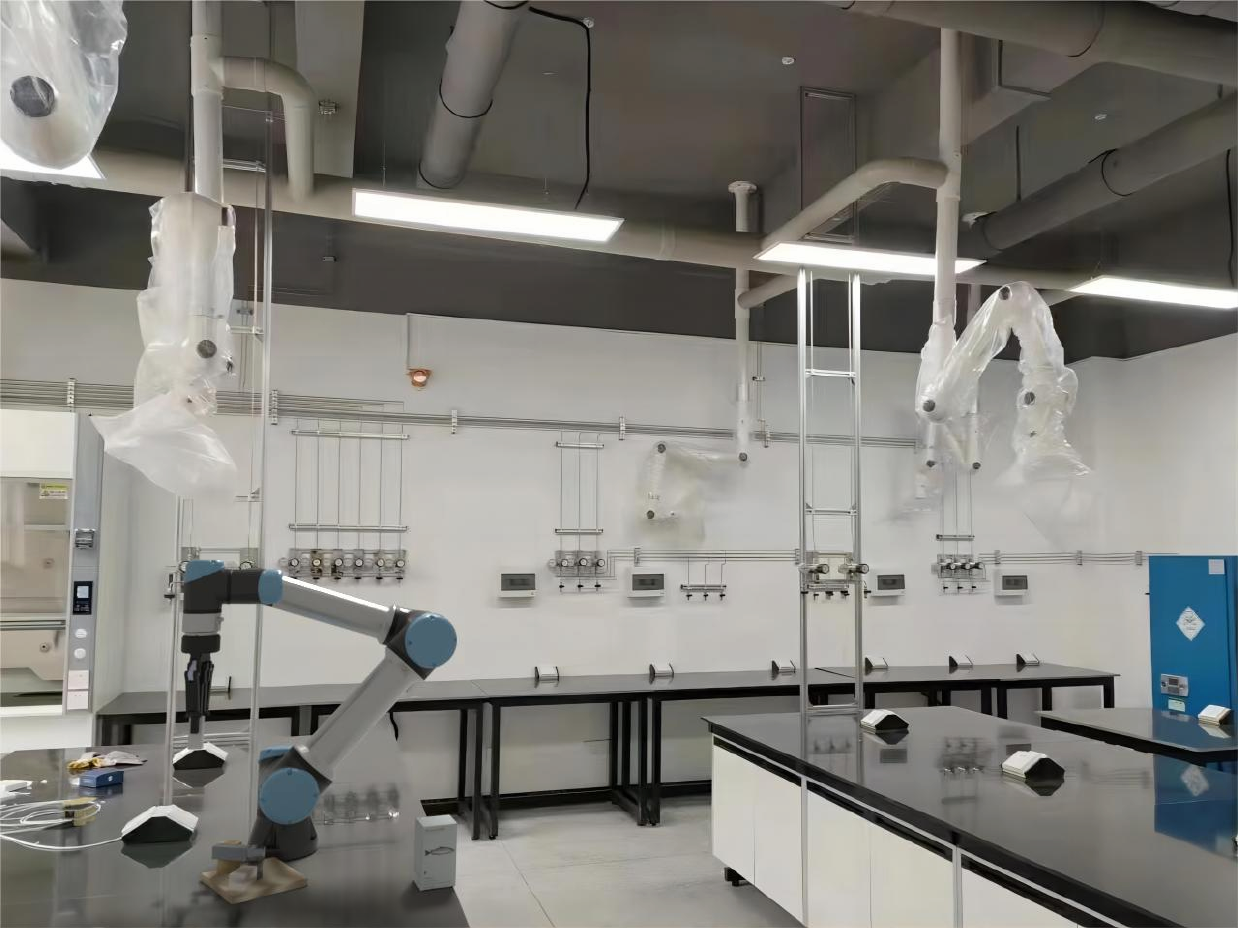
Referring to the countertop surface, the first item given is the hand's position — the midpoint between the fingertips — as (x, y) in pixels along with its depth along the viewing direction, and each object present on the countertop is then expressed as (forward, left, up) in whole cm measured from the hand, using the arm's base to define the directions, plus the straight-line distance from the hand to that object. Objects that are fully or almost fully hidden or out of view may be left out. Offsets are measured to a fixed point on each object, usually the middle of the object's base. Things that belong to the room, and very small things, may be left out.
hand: (195, 748), depth 191 cm
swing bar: (-7, +9, -21) cm, 24 cm away
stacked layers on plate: (+7, -60, -27) cm, 66 cm away
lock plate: (-10, +10, -26) cm, 30 cm away
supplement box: (-37, +34, -27) cm, 57 cm away
